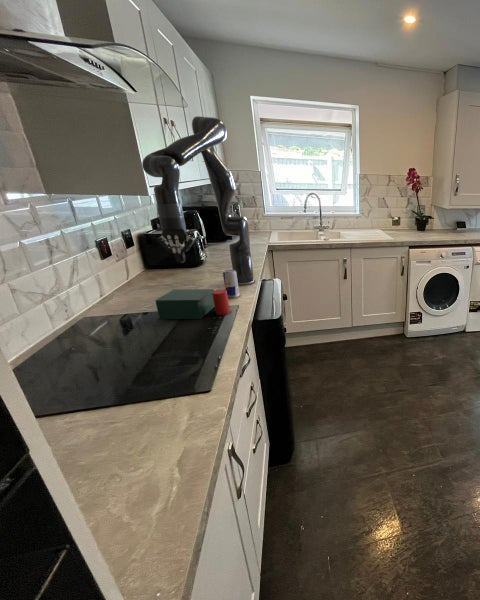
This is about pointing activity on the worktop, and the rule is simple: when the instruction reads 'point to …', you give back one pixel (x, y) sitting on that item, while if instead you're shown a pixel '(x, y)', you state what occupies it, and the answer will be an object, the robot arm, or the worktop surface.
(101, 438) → the worktop surface
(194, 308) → the box
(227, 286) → the energy drink
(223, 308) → the tin
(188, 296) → the lid
